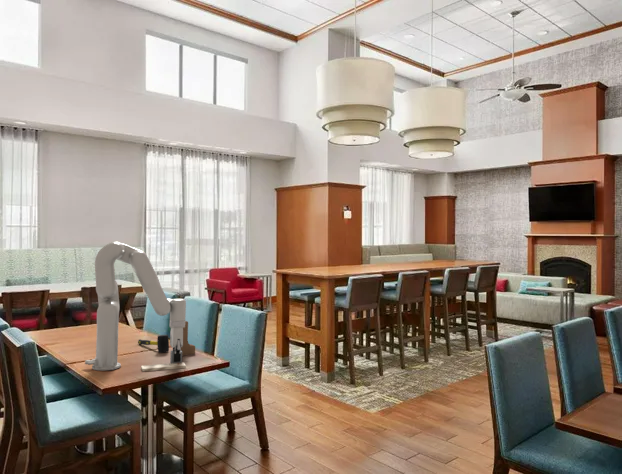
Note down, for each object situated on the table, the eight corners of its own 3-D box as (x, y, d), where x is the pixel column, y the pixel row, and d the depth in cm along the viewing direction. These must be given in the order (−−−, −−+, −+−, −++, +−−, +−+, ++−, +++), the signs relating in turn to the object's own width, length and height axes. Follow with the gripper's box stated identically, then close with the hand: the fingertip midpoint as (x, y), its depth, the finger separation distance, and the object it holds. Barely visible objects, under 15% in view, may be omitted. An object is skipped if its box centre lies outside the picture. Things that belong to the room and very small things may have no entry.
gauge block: (171, 364, 239) (171, 352, 239) (170, 362, 242) (170, 350, 243) (181, 363, 241) (182, 351, 241) (180, 361, 245) (180, 350, 245)
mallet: (134, 345, 280) (134, 328, 280) (143, 343, 285) (144, 327, 285) (161, 354, 261) (161, 336, 261) (171, 352, 265) (171, 335, 265)
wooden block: (192, 352, 266) (193, 319, 266) (195, 354, 262) (196, 320, 263) (176, 354, 261) (177, 320, 261) (179, 356, 257) (180, 322, 257)
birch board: (142, 371, 226) (142, 368, 226) (141, 368, 231) (141, 365, 231) (186, 367, 234) (186, 365, 234) (183, 364, 240) (183, 362, 240)
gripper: (167, 321, 248) (165, 357, 248) (172, 327, 233) (171, 365, 233) (182, 320, 251) (180, 356, 251) (188, 326, 236) (187, 364, 236)
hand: (176, 360), depth 242 cm, fingers closed on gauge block, 4 cm apart
